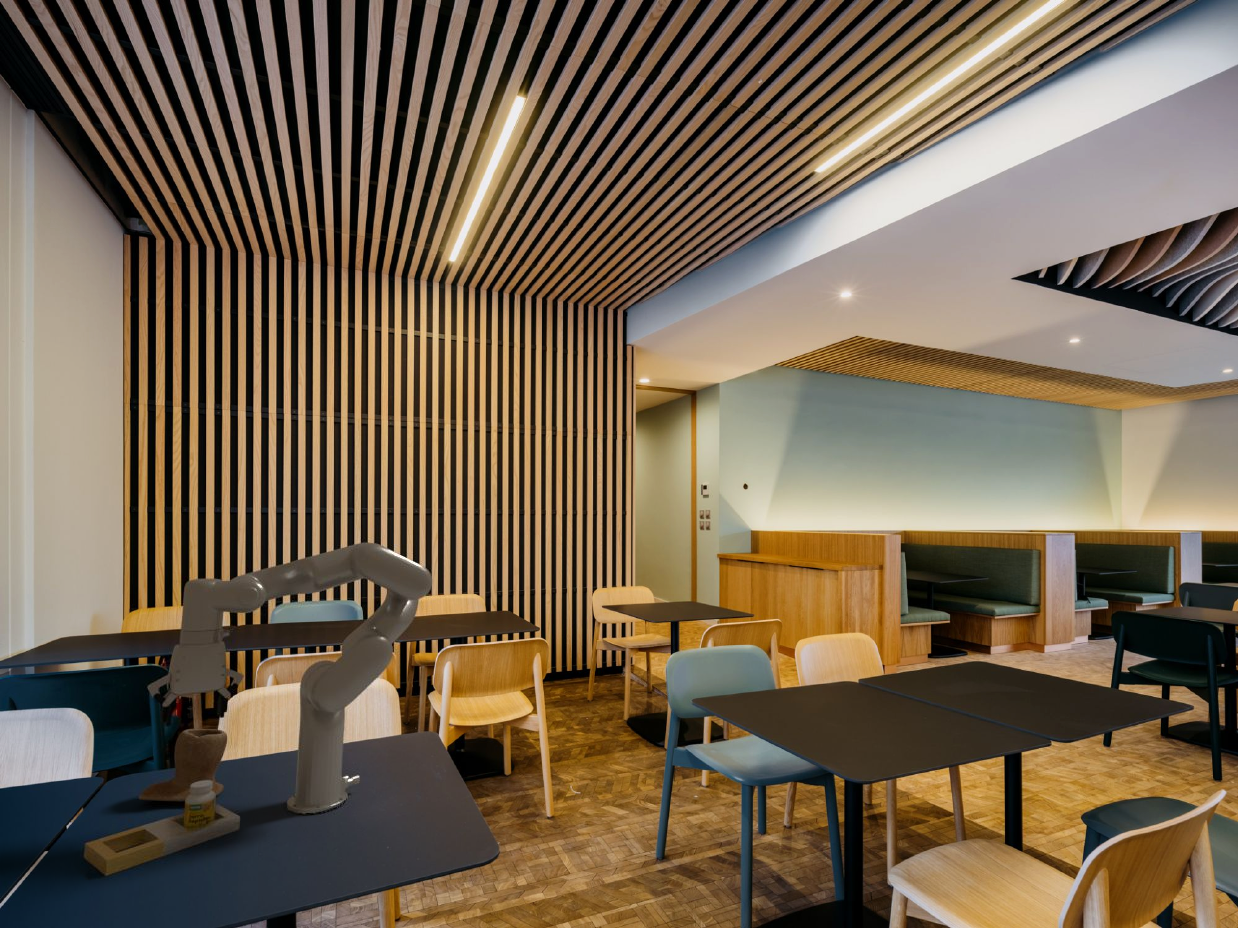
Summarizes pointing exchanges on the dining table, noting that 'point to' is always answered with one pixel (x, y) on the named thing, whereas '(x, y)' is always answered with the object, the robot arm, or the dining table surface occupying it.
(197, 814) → the supplement bottle
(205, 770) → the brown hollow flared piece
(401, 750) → the dining table surface
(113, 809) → the dining table surface
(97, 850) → the holder
